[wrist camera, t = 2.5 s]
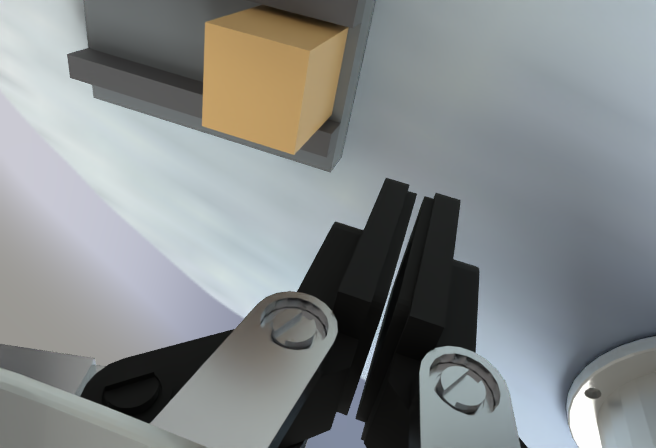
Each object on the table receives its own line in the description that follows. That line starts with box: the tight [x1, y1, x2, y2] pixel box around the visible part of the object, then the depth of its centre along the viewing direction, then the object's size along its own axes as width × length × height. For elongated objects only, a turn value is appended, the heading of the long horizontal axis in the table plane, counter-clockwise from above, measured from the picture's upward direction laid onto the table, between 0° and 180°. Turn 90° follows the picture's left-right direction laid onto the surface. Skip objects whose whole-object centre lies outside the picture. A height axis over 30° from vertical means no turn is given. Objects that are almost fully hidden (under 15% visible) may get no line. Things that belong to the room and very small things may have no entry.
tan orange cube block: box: [202, 5, 349, 155], centre depth 20 cm, size 4×4×5 cm
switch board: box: [67, 0, 376, 172], centre depth 23 cm, size 14×10×4 cm
